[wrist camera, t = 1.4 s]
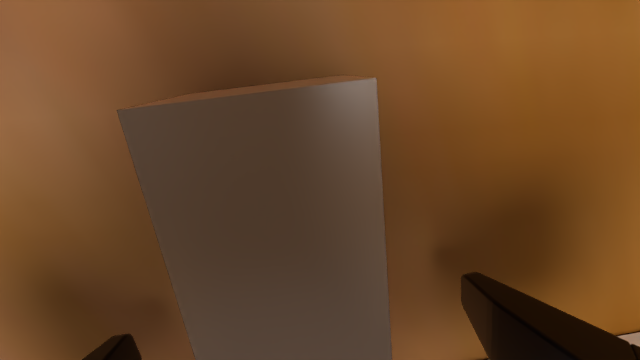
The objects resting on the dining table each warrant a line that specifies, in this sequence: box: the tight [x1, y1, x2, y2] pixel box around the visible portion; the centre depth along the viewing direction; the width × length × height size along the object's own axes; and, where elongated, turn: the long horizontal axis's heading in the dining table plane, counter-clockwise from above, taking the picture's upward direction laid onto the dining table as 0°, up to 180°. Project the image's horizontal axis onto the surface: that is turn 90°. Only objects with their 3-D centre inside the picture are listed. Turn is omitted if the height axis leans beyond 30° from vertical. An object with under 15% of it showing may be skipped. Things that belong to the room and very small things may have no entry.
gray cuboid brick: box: [117, 75, 392, 360], centre depth 9 cm, size 12×4×4 cm, turn 7°
